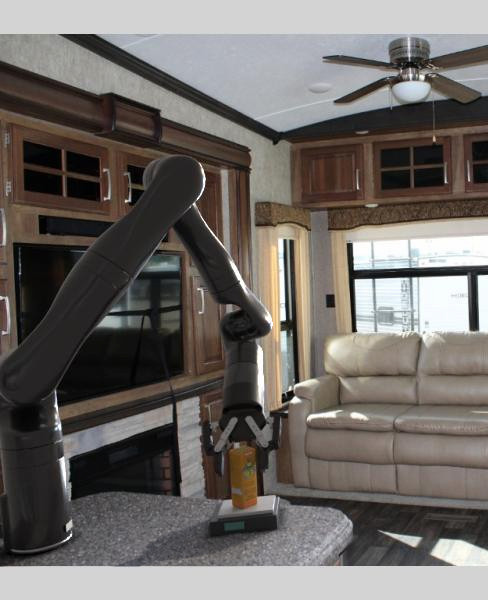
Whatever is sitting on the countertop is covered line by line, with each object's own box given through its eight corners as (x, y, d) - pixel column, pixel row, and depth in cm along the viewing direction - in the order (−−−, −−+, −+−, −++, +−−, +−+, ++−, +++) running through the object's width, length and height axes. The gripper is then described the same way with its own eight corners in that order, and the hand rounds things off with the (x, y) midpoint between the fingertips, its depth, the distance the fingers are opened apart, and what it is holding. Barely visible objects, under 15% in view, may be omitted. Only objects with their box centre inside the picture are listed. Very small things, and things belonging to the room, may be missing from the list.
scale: (210, 536, 111) (208, 519, 111) (218, 516, 120) (216, 500, 120) (277, 529, 113) (276, 511, 113) (280, 509, 122) (278, 493, 122)
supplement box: (244, 510, 114) (240, 452, 114) (231, 506, 116) (227, 449, 116) (259, 503, 117) (255, 447, 116) (246, 500, 119) (242, 444, 118)
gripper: (200, 383, 122) (194, 466, 111) (280, 377, 124) (282, 457, 113) (207, 406, 127) (202, 487, 116) (284, 399, 129) (286, 478, 118)
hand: (241, 472), depth 115 cm, fingers open, 6 cm apart
